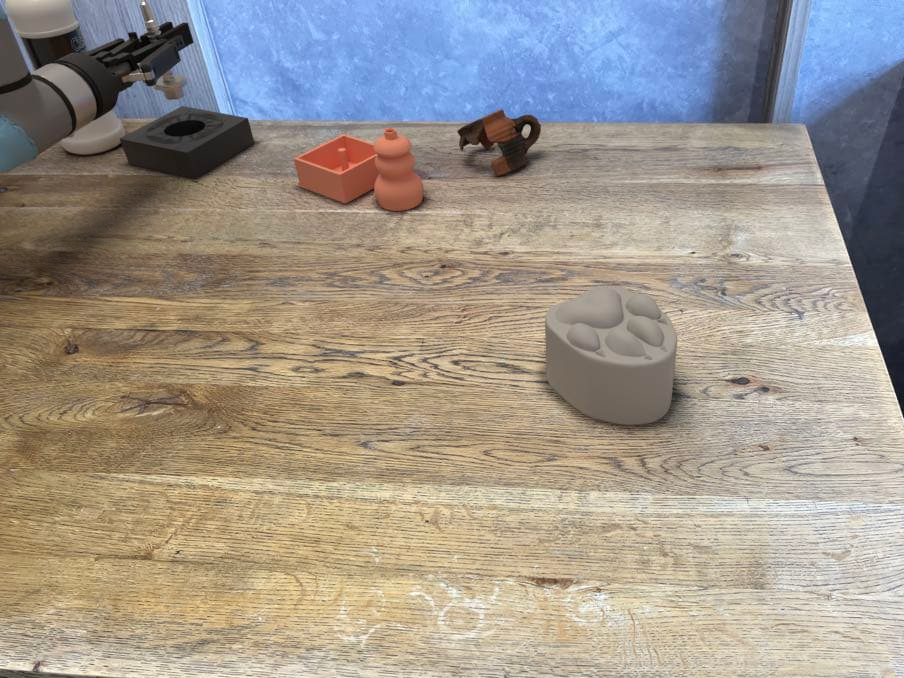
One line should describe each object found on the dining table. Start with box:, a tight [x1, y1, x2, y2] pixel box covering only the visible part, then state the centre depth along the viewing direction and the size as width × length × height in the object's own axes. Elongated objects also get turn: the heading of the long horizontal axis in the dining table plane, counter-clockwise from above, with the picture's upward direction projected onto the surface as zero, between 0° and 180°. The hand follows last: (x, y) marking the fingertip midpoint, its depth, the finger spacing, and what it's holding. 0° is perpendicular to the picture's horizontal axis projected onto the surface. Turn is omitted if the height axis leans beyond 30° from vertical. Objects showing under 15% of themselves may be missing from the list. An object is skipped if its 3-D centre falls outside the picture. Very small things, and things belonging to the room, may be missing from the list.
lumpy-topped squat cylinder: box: [544, 285, 678, 426], centre depth 78 cm, size 10×13×9 cm
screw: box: [139, 0, 189, 101], centre depth 114 cm, size 13×5×5 cm
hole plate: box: [120, 105, 255, 180], centre depth 123 cm, size 13×13×4 cm
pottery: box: [293, 127, 424, 212], centre depth 110 cm, size 18×10×10 cm, turn 54°
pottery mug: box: [456, 109, 542, 177], centre depth 118 cm, size 12×10×8 cm
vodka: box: [5, 0, 126, 156], centre depth 118 cm, size 9×9×30 cm
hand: (180, 32), depth 117 cm, fingers closed on screw, 2 cm apart
